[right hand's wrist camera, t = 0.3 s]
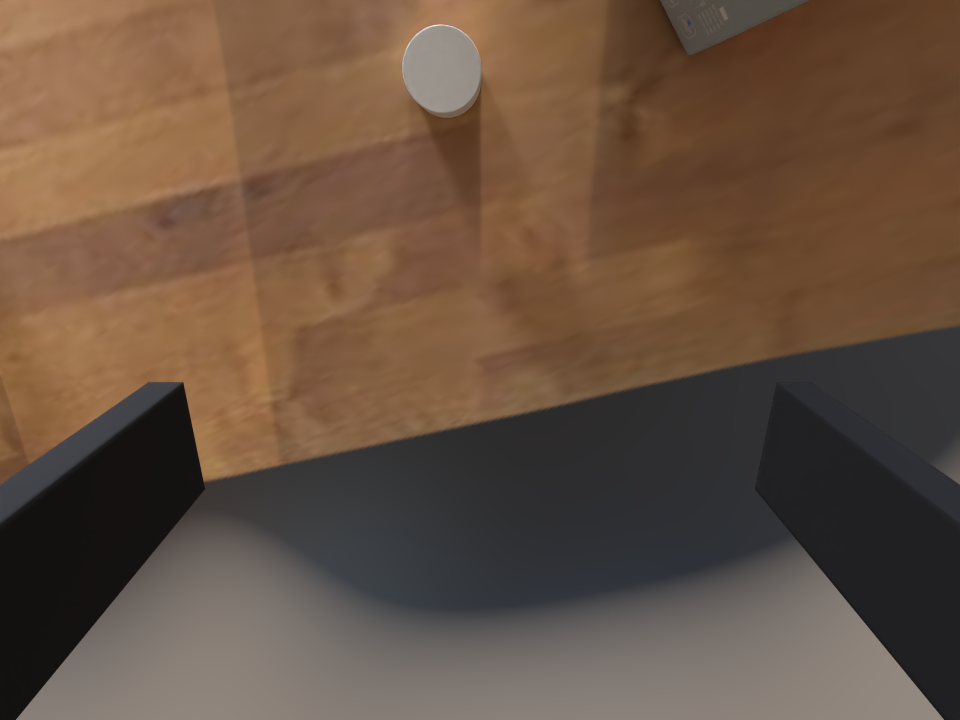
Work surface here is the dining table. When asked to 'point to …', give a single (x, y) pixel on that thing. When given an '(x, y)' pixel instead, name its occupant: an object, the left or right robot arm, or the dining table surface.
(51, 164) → the dining table surface
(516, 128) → the dining table surface
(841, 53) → the dining table surface
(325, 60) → the dining table surface
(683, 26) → the hard drive box
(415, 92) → the canister
